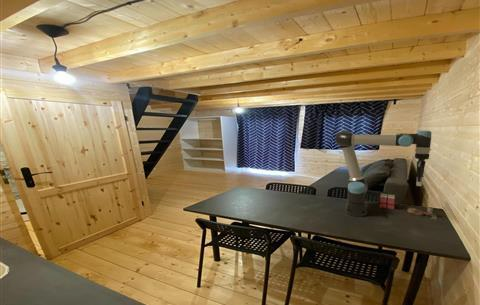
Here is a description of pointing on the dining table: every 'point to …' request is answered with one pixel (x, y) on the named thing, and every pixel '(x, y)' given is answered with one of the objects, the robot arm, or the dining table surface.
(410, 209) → the dial
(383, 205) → the puzzle cube
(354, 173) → the robot arm
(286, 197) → the dining table surface
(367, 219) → the dining table surface
